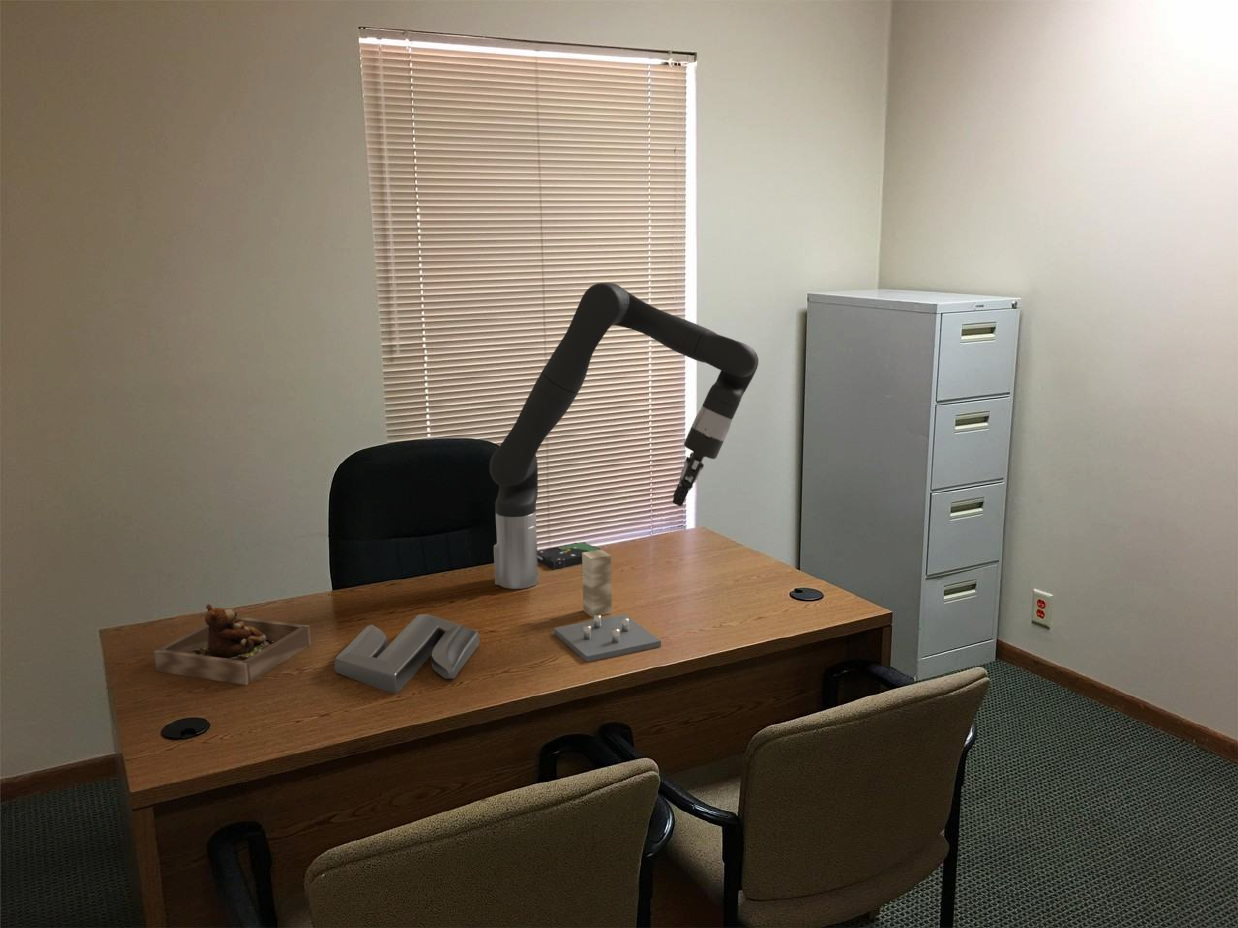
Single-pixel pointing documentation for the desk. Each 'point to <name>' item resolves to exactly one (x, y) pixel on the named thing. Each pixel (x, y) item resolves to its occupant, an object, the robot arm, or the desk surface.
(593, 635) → the slate base plate
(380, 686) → the emblem
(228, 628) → the bear figurine
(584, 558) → the birch post
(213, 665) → the walnut display rim
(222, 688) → the desk surface
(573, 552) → the disk drive
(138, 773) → the desk surface
